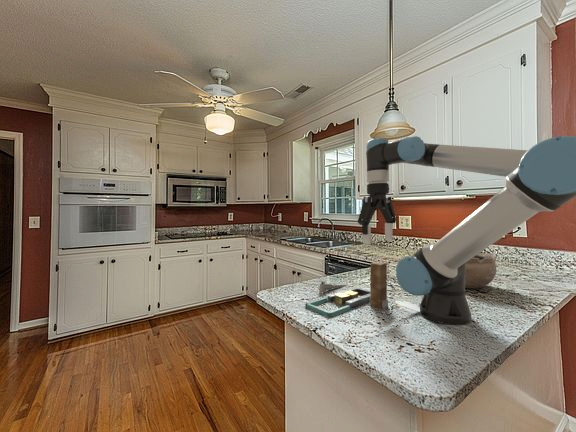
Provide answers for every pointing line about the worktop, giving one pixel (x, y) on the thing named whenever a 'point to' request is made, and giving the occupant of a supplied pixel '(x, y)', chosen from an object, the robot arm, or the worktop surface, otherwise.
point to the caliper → (328, 287)
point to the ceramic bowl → (480, 270)
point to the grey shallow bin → (361, 300)
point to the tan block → (341, 298)
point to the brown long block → (379, 285)
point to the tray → (329, 314)
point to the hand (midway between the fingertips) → (378, 242)
